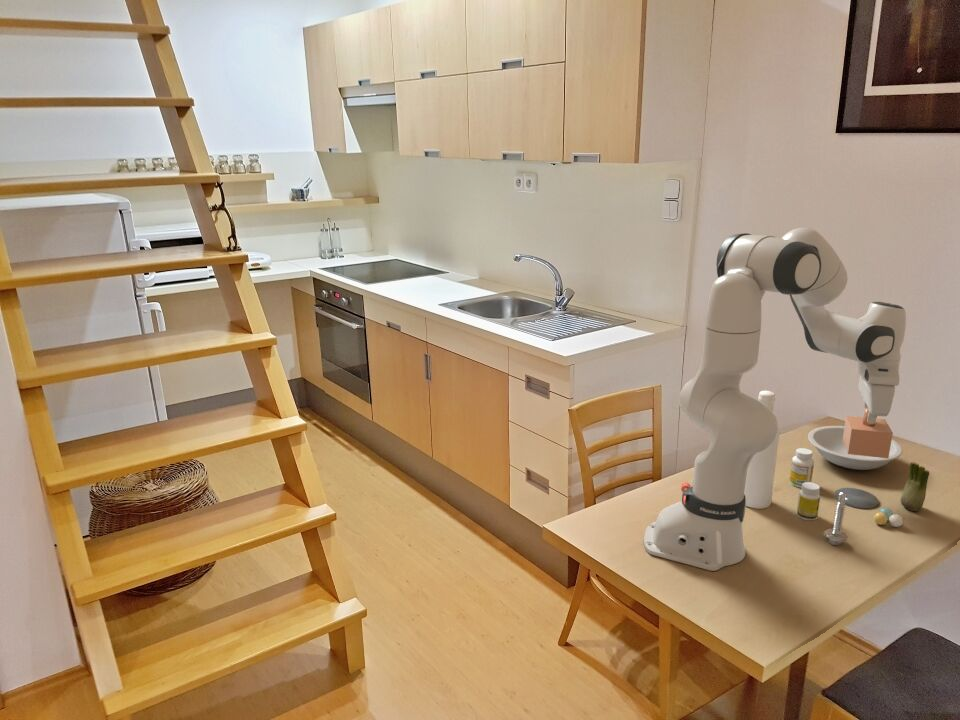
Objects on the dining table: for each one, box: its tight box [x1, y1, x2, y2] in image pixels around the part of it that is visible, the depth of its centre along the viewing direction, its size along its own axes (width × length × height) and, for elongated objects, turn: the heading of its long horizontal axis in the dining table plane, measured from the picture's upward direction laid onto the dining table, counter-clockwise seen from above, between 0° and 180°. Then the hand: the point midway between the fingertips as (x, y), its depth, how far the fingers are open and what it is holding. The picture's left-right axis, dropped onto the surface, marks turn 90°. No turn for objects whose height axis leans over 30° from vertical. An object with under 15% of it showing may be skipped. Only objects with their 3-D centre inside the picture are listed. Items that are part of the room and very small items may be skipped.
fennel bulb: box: [900, 461, 930, 512], centre depth 178 cm, size 6×5×12 cm
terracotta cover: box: [843, 407, 893, 458], centre depth 178 cm, size 9×9×11 cm
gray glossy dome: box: [834, 487, 879, 510], centre depth 184 cm, size 10×10×1 cm
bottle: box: [744, 390, 780, 510], centre depth 179 cm, size 8×8×30 cm
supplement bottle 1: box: [789, 447, 815, 489], centre depth 191 cm, size 5×5×10 cm
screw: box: [823, 492, 849, 546], centre depth 163 cm, size 13×5×5 cm
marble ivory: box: [888, 513, 904, 528], centre depth 171 cm, size 3×3×3 cm
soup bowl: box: [807, 425, 903, 471], centre depth 204 cm, size 24×24×7 cm
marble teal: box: [878, 507, 893, 521], centre depth 174 cm, size 3×3×3 cm
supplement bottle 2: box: [796, 481, 821, 521], centre depth 175 cm, size 5×5×8 cm
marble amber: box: [873, 511, 889, 526], centre depth 172 cm, size 3×3×3 cm
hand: (869, 419), depth 178 cm, fingers closed on terracotta cover, 3 cm apart
